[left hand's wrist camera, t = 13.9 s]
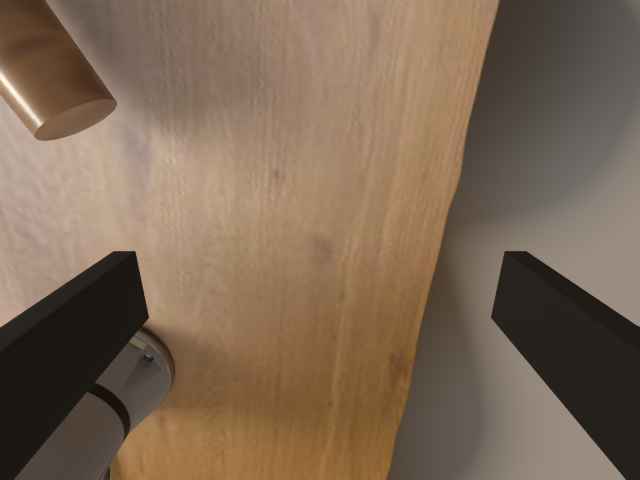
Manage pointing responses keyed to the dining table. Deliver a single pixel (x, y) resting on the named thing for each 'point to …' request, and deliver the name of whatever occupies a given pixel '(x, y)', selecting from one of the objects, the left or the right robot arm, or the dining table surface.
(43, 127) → the rod
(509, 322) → the left robot arm
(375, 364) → the dining table surface
